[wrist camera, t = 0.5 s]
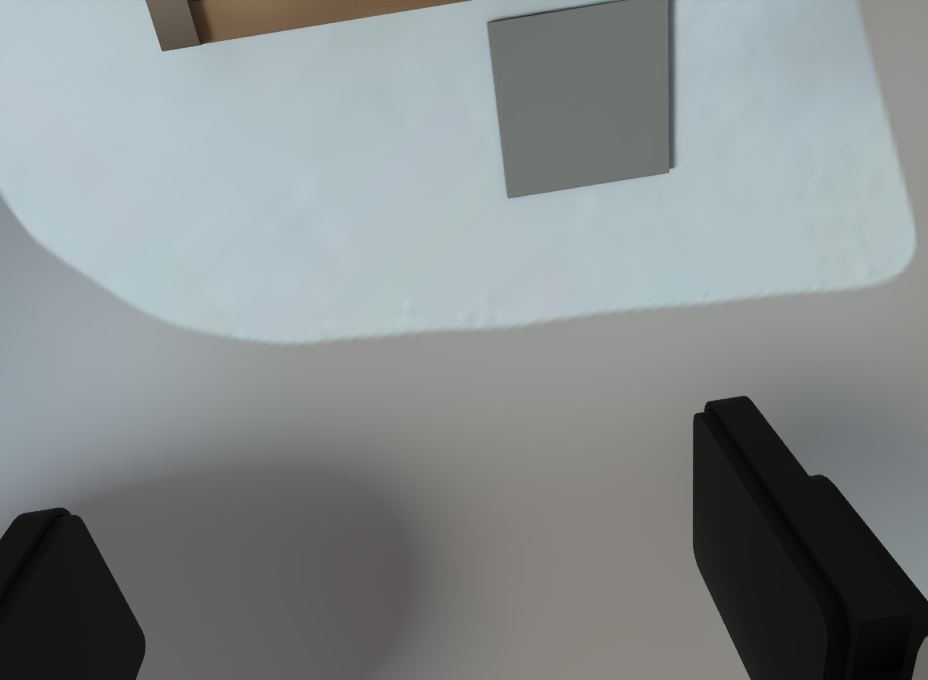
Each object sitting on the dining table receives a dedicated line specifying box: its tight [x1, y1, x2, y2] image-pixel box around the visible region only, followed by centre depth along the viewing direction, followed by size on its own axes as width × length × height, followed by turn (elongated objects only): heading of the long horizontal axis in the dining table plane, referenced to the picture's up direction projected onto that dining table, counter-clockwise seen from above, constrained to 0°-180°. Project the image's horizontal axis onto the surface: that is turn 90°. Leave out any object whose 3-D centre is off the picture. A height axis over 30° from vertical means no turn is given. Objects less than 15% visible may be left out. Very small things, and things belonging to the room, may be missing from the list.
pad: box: [487, 0, 669, 198], centre depth 34 cm, size 8×8×1 cm
